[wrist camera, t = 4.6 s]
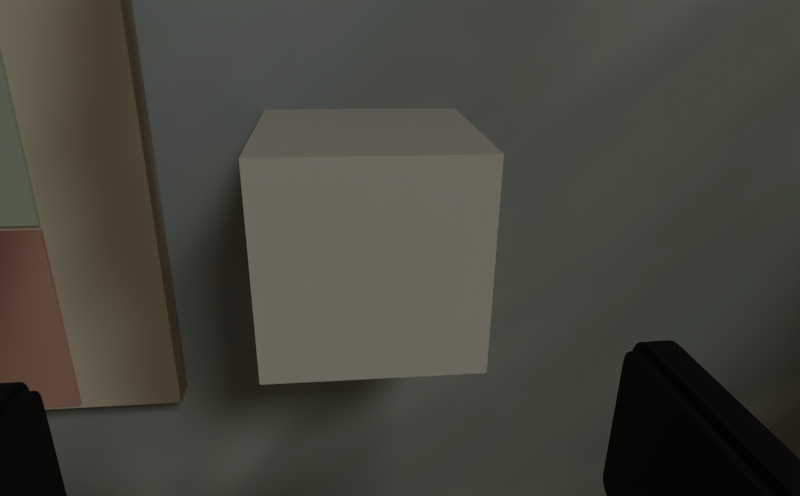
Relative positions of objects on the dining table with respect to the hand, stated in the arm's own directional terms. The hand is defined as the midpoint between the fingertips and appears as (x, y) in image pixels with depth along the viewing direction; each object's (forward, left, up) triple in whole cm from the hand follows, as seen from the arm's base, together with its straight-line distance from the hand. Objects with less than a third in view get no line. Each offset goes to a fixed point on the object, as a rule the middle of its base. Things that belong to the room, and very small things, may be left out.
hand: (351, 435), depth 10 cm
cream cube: (-1, 0, -12) cm, 12 cm away
